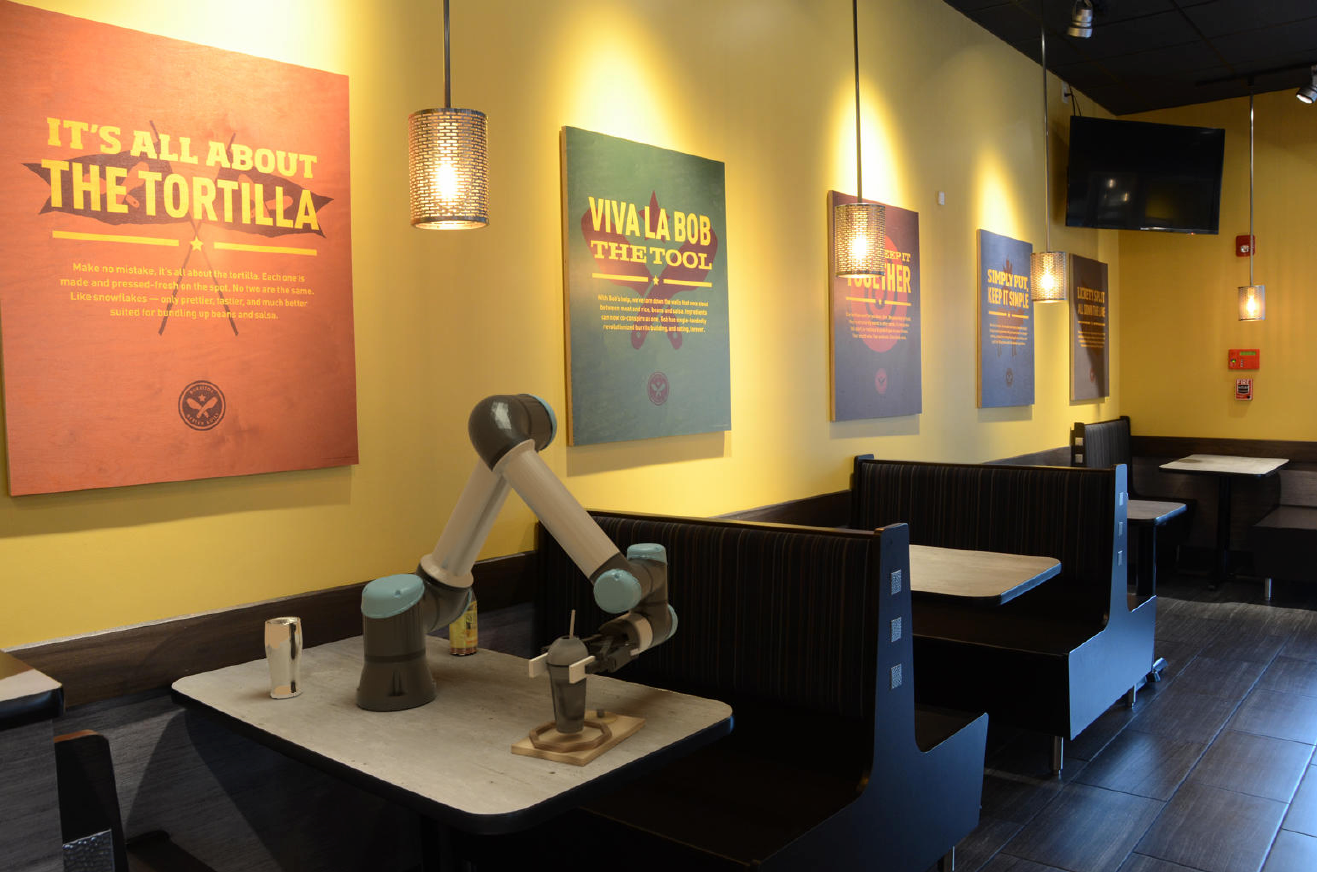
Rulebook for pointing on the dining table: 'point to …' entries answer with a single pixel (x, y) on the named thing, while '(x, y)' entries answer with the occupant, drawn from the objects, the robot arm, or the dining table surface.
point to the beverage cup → (567, 682)
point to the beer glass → (284, 654)
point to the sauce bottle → (465, 630)
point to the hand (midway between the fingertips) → (550, 671)
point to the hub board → (578, 738)
